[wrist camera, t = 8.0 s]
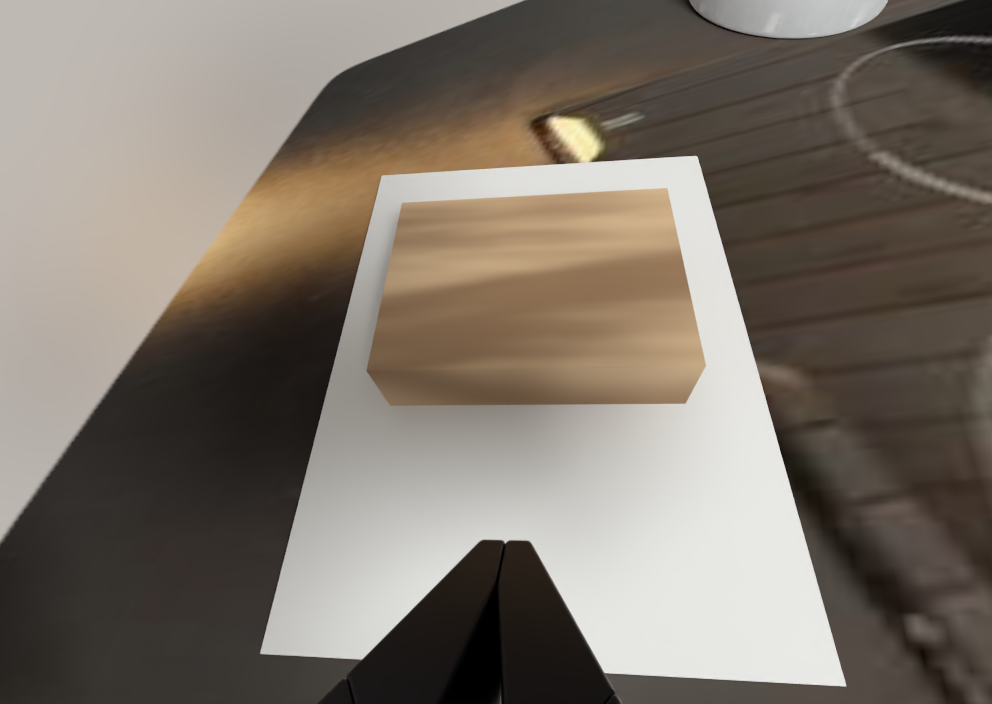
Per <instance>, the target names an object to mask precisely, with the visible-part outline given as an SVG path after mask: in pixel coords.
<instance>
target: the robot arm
mask: <svg viewBox="0 0 992 704" xmlns="http://www.w3.org/2000/svg"><path fill="white" fill-rule="evenodd" d="M500 695H501V698H502V704H622V702H621V701H620V699H619V697H618V696H617V695H615V691H614V689H613V687H612V685H611V683H610V682H609V680H608V678H607V676H606V675H605V673H604V671H603V669H602V667H601V666H600V664H599V662H598V660H597V659H596V657H595V655H594V653H593V651H592V650H591V648H590V646H589V644H588V643H587V641H586V639H585V637H584V635H583V634H582V632H581V630H580V628H579V627H578V625H577V623H576V621H575V619H574V618H573V616H572V614H571V612H570V611H569V609H568V607H567V605H566V603H565V602H564V600H563V598H562V596H561V594H560V593H559V591H558V589H557V587H556V586H555V584H554V582H553V580H552V578H551V577H550V575H549V573H548V571H547V570H546V568H545V566H544V564H543V562H542V561H541V559H540V557H539V555H538V554H537V552H536V550H535V548H534V546H533V545H532V543H531V542H530V541H527V540H509V541H507V542H506V544H505V542H504V541H503V540H485V539H484V540H481V541H479V542H478V543H477V544H476V545H475V546H474V547H473V548H472V549H471V550H470V551H469V552H468V553H467V554H466V555H465V556H464V557H463V558H462V559H461V560H460V561H459V562H458V563H457V564H456V565H455V566H454V567H453V568H452V569H451V570H450V571H449V573H448V574H447V575H446V576H445V577H444V578H443V579H442V580H441V581H440V582H439V583H438V584H437V585H436V586H435V587H434V588H433V589H432V590H431V591H430V592H429V593H428V594H427V595H426V596H425V597H424V598H423V599H422V600H421V601H420V602H419V603H418V604H417V605H416V606H415V607H414V608H413V609H412V610H411V611H410V612H409V613H408V614H407V615H406V616H405V617H404V618H403V619H402V620H401V621H400V622H399V623H398V624H397V625H396V626H395V627H394V628H393V629H392V630H391V631H390V632H389V633H388V634H387V635H386V636H385V637H384V638H383V639H382V640H381V641H380V642H379V643H378V644H377V645H376V646H375V647H374V648H373V649H372V650H371V651H370V652H369V653H368V654H367V655H366V656H365V657H364V658H363V659H362V660H361V661H360V662H359V663H358V664H357V665H356V666H355V667H354V668H353V669H352V670H351V671H350V672H349V673H348V674H347V679H345V678H344V679H342V680H341V681H340V682H339V683H338V684H337V685H336V686H335V687H334V688H333V689H332V690H331V691H330V692H329V693H328V694H327V695H326V696H325V697H324V698H323V699H322V700H321V701H320V702H319V703H318V704H499V702H500Z"/></svg>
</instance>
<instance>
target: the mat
mask: <svg viewBox="0 0 992 704" xmlns="http://www.w3.org/2000/svg"><path fill="white" fill-rule="evenodd" d="M658 188H667V189H668V193H669V198H670V202H671V207H672V212H673V216H674V221H675V225H676V230H677V235H678V239H679V244H680V248H681V253H682V258H683V262H684V267H685V271H686V276H687V281H688V285H689V290H690V294H691V299H692V304H693V308H694V313H695V317H696V322H697V327H698V331H699V336H700V340H701V345H702V350H703V354H704V359H705V363H706V367H705V369H704V370H703V372H702V374H701V376H700V378H699V380H698V381H697V383H696V385H695V387H694V389H693V391H692V393H691V394H690V396H689V398H688V400H687V402H686V404H566V405H415V406H390V405H389V403H388V402H387V400H386V399H385V397H384V396H383V394H382V393H381V391H380V390H379V389H378V387H377V386H376V384H375V383H374V381H373V380H372V378H371V377H370V375H369V374H368V373H367V371H366V370H367V366H368V361H369V356H370V351H371V347H372V342H373V337H374V332H375V328H376V323H377V318H378V314H379V309H380V304H381V299H382V295H383V290H384V285H385V280H386V276H387V271H388V266H389V262H390V257H391V252H392V247H393V243H394V238H395V233H396V229H397V224H398V219H399V214H400V210H401V205H402V203H408V202H426V201H443V200H461V199H479V198H497V197H515V196H533V195H551V194H569V193H587V192H605V191H623V190H640V189H658ZM484 539H485V540H503V541H504V542H505V544H506V542H507V541H509V540H527V541H530V542H531V543H532V545H533V546H534V548H535V550H536V552H537V554H538V555H539V557H540V559H541V561H542V562H543V564H544V566H545V568H546V570H547V571H548V573H549V575H550V577H551V578H552V580H553V582H554V584H555V586H556V587H557V589H558V591H559V593H560V594H561V596H562V598H563V600H564V602H565V603H566V605H567V607H568V609H569V611H570V612H571V614H572V616H573V618H574V619H575V621H576V623H577V625H578V627H579V628H580V630H581V632H582V634H583V635H584V637H585V639H586V641H587V643H588V644H589V646H590V648H591V650H592V651H593V653H594V655H595V657H596V659H597V660H598V662H599V664H600V666H601V667H602V669H603V671H604V673H615V674H633V675H651V676H669V677H687V678H705V679H723V680H741V681H759V682H777V683H795V684H813V685H831V686H846V683H845V680H844V676H843V673H842V669H841V666H840V662H839V659H838V655H837V651H836V648H835V644H834V641H833V637H832V634H831V630H830V627H829V623H828V619H827V616H826V612H825V609H824V605H823V602H822V598H821V594H820V591H819V587H818V584H817V580H816V577H815V573H814V570H813V566H812V562H811V559H810V555H809V552H808V548H807V545H806V541H805V538H804V534H803V530H802V527H801V523H800V520H799V516H798V513H797V509H796V506H795V502H794V498H793V495H792V491H791V488H790V484H789V481H788V477H787V474H786V470H785V466H784V463H783V459H782V456H781V452H780V449H779V445H778V442H777V438H776V434H775V431H774V427H773V424H772V420H771V417H770V413H769V410H768V406H767V402H766V399H765V395H764V392H763V388H762V385H761V381H760V378H759V374H758V370H757V367H756V363H755V360H754V356H753V353H752V349H751V346H750V342H749V338H748V335H747V331H746V328H745V324H744V321H743V317H742V313H741V310H740V306H739V303H738V299H737V296H736V292H735V289H734V285H733V281H732V278H731V274H730V271H729V267H728V264H727V260H726V257H725V253H724V249H723V246H722V242H721V239H720V235H719V232H718V228H717V225H716V221H715V217H714V214H713V210H712V207H711V203H710V200H709V196H708V193H707V189H706V185H705V182H704V178H703V175H702V171H701V168H700V164H699V161H698V157H697V156H686V157H670V158H654V159H638V160H622V161H606V162H590V163H574V164H558V165H542V166H526V167H511V168H495V169H479V170H463V171H447V172H431V173H415V174H399V175H383V176H382V177H381V181H380V185H379V189H378V193H377V197H376V201H375V204H374V208H373V212H372V216H371V220H370V224H369V228H368V232H367V236H366V240H365V244H364V248H363V252H362V255H361V259H360V263H359V267H358V271H357V275H356V279H355V283H354V287H353V291H352V295H351V299H350V303H349V306H348V310H347V314H346V318H345V322H344V326H343V330H342V334H341V338H340V342H339V346H338V350H337V354H336V357H335V361H334V365H333V369H332V373H331V377H330V381H329V385H328V389H327V393H326V397H325V401H324V405H323V408H322V412H321V416H320V420H319V424H318V428H317V432H316V436H315V440H314V444H313V448H312V452H311V456H310V459H309V463H308V467H307V471H306V475H305V479H304V483H303V487H302V491H301V495H300V499H299V503H298V507H297V511H296V514H295V518H294V522H293V526H292V530H291V534H290V538H289V542H288V546H287V550H286V554H285V558H284V562H283V565H282V569H281V573H280V577H279V581H278V585H277V589H276V593H275V597H274V601H273V605H272V609H271V613H270V616H269V620H268V624H267V628H266V632H265V636H264V640H263V644H262V648H261V652H260V654H272V655H290V656H308V657H326V658H344V659H363V658H364V657H365V656H366V655H367V654H368V653H369V652H370V651H371V650H372V649H373V648H374V647H375V646H376V645H377V644H378V643H379V642H380V641H381V640H382V639H383V638H384V637H385V636H386V635H387V634H388V633H389V632H390V631H391V630H392V629H393V628H394V627H395V626H396V625H397V624H398V623H399V622H400V621H401V620H402V619H403V618H404V617H405V616H406V615H407V614H408V613H409V612H410V611H411V610H412V609H413V608H414V607H415V606H416V605H417V604H418V603H419V602H420V601H421V600H422V599H423V598H424V597H425V596H426V595H427V594H428V593H429V592H430V591H431V590H432V589H433V588H434V587H435V586H436V585H437V584H438V583H439V582H440V581H441V580H442V579H443V578H444V577H445V576H446V575H447V574H448V573H449V571H450V570H451V569H452V568H453V567H454V566H455V565H456V564H457V563H458V562H459V561H460V560H461V559H462V558H463V557H464V556H465V555H466V554H467V553H468V552H469V551H470V550H471V549H472V548H473V547H474V546H475V545H476V544H477V543H478V542H479V541H481V540H484Z"/></svg>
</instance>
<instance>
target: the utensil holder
mask: <svg viewBox="0 0 992 704" xmlns="http://www.w3.org/2000/svg"><path fill="white" fill-rule="evenodd" d="M689 2H690V3H691V5H692V6H693V8H694V9H695V10H696V11H697V12H698V13H699V14H700V15H702V16H703V17H704V18H706V19H708V20H709V21H711V22H713V23H715V24H717V25H719V26H722V27H724V28H727V29H730V30H733V31H737V32H741V33H745V34H750V35H755V36H762V37H770V38H792V39H794V38H815V37H823V36H829V35H834V34H839V33H842V32H846V31H849V30H852V29H855V28H857V27H859V26H861V25H863V24H865V23H867V22H869V21H870V20H872V19H873V18H875V17H876V16H877V15H878V14H879V13H880V12H881V11H882V10H883V8H884V7H885V5H886V4H887V2H888V0H689Z"/></svg>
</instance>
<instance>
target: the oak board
mask: <svg viewBox="0 0 992 704" xmlns="http://www.w3.org/2000/svg"><path fill="white" fill-rule="evenodd" d="M705 367H706V363H705V359H704V354H703V350H702V345H701V340H700V336H699V331H698V327H697V322H696V317H695V313H694V308H693V304H692V299H691V294H690V290H689V285H688V281H687V276H686V271H685V267H684V262H683V258H682V253H681V248H680V244H679V239H678V235H677V230H676V225H675V221H674V216H673V212H672V207H671V202H670V198H669V193H668V189H667V188H658V189H640V190H623V191H605V192H587V193H569V194H551V195H533V196H515V197H497V198H479V199H461V200H443V201H426V202H408V203H402V205H401V210H400V214H399V219H398V224H397V229H396V233H395V238H394V243H393V247H392V252H391V257H390V262H389V266H388V271H387V276H386V280H385V285H384V290H383V295H382V299H381V304H380V309H379V314H378V318H377V323H376V328H375V332H374V337H373V342H372V347H371V351H370V356H369V361H368V366H367V370H366V371H367V373H368V374H369V375H370V377H371V378H372V380H373V381H374V383H375V384H376V386H377V387H378V389H379V390H380V391H381V393H382V394H383V396H384V397H385V399H386V400H387V402H388V403H389V405H390V406H415V405H566V404H686V402H687V400H688V398H689V396H690V394H691V393H692V391H693V389H694V387H695V385H696V383H697V381H698V380H699V378H700V376H701V374H702V372H703V370H704V369H705Z"/></svg>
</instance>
